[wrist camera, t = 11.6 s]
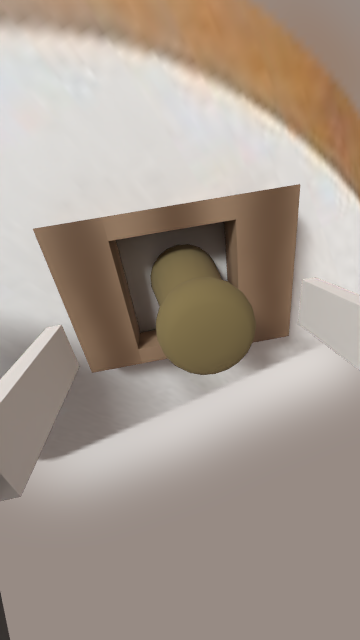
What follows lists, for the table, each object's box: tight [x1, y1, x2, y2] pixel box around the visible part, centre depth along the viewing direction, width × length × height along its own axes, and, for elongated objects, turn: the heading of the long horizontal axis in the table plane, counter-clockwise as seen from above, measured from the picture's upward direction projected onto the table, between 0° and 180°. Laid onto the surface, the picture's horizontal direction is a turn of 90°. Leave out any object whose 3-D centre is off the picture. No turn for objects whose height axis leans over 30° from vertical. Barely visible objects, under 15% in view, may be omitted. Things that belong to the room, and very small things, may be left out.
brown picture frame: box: [33, 184, 300, 373], centre depth 19 cm, size 18×12×3 cm, turn 99°
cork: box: [151, 244, 256, 375], centre depth 15 cm, size 6×6×11 cm
